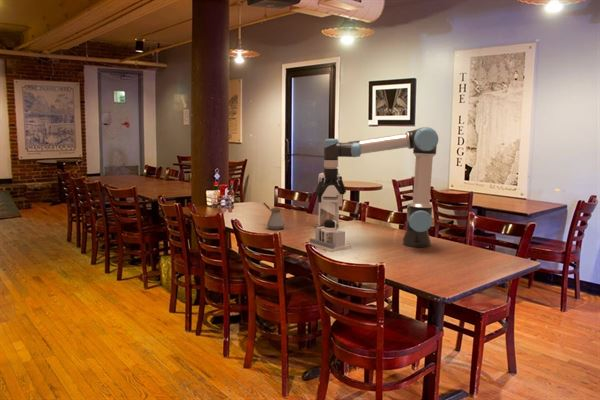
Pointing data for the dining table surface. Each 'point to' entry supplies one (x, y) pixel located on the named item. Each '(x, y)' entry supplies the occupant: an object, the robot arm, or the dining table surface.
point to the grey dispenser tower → (329, 205)
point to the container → (328, 231)
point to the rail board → (336, 246)
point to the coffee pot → (275, 219)
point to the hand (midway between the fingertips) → (330, 207)
